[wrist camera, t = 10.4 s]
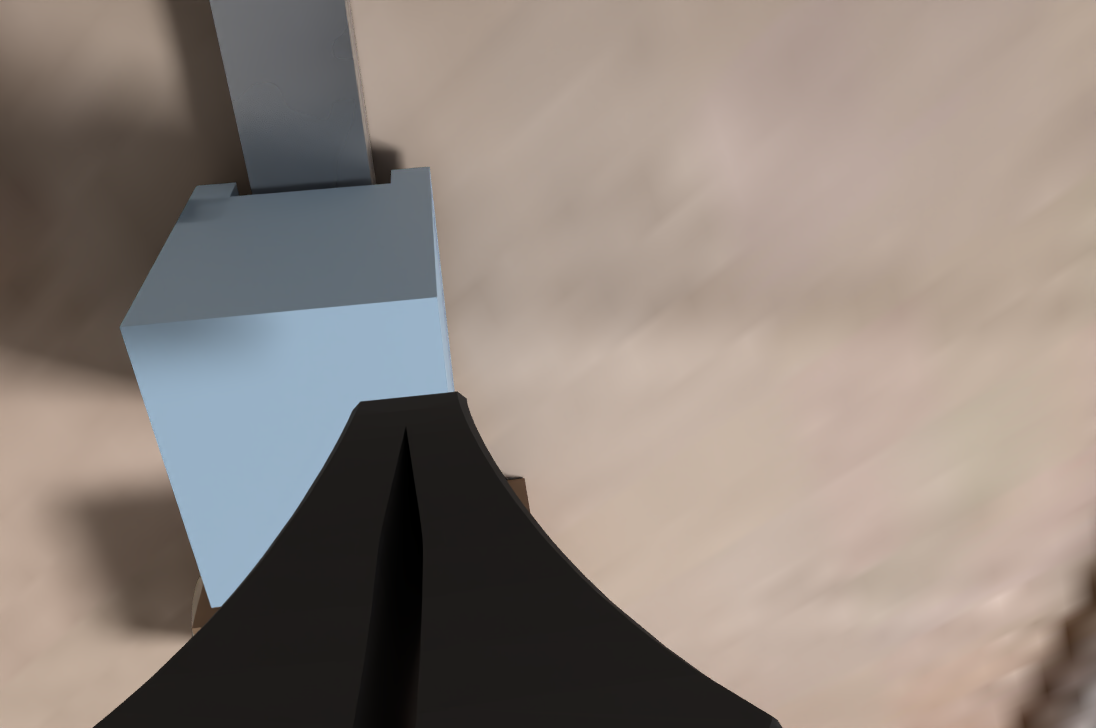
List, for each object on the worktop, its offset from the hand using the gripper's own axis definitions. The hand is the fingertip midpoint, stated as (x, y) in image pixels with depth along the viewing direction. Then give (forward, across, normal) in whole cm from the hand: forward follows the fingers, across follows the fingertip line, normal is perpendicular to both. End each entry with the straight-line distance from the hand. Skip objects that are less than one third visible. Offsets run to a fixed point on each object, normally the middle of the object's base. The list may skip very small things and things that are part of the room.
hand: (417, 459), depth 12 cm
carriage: (+10, +2, +2) cm, 10 cm away
